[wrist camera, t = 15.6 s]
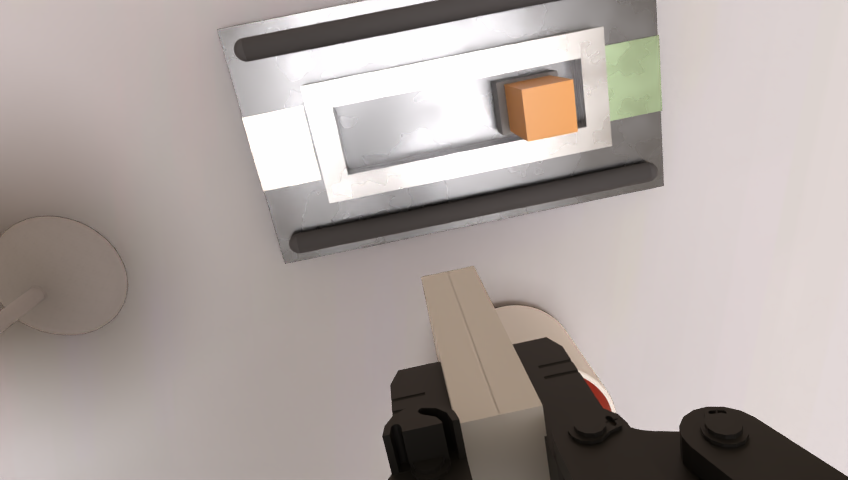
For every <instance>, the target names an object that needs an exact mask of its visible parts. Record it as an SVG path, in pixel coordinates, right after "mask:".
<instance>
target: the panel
mask: <svg viewBox="0 0 848 480" xmlns="http://www.w3.org/2000/svg"><path fill="white" fill-rule="evenodd" d="M430 1H435V0H366V1H361V2H356V3H350V4H345V5H340V6H335V7H330V8H325V9H320V10H314V11H309V12H304V13H299V14H294V15H289V16H284V17H278V18H273V19H268V20H263V21H258V22H253V23H248V24H243V25H237V26H232V27H227V28H222V29H217V31H218V34H219V38H220V41H221V45H222V48H223V52H224V55H225V59H226V62H227V65H228V69H229V72H230V76H231V79H232V83H233V86H234V90H235V93H236V96H237V100H238V103H239V107H240V110H241V114H242V117H243V118H242V120H243V123H244V127H245V130H246V134H247V137H248V140H249V144H250V147H251V151H252V154H253V158H254V161H255V165H256V168H257V171H258V175H259V178H260V182H261V185H262V189H263V191H264V193H265V196H266V200H267V203H268V207H269V210H270V214H271V217H272V221H273V224H274V227H275V231H276V234H277V238H278V241H279V245H280V248H281V252H282V255H283V259H284V262H285V264H286V263H291V262H296V261H301V260H306V259H310V258H315V257H320V256H325V255H330V254H335V253H340V252H344V251H349V250H354V249H359V248H364V247H369V246H374V245H379V244H383V243H388V242H393V241H398V240H403V239H408V238H413V237H417V236H422V235H427V234H432V233H437V232H442V231H447V230H451V229H456V228H461V227H466V226H471V225H476V224H481V223H486V222H490V221H495V220H500V219H505V218H510V217H515V216H520V215H524V214H529V213H534V212H539V211H544V210H549V209H554V208H558V207H563V206H568V205H573V204H578V203H583V202H588V201H592V200H597V199H602V198H607V197H612V196H617V195H622V194H627V193H631V192H636V191H641V190H646V189H651V188H656V187H661V186H664V180H663V156H662V132H661V111H662V98H661V74H660V49H659V35H657V11H656V0H560V1H555V2H550V3H544V4H539V5H534V6H529V7H524V8H519V9H514V10H509V11H504V12H499V13H494V14H488V15H483V16H478V17H473V18H468V19H463V20H458V21H453V22H448V23H443V24H438V25H432V26H427V27H422V28H417V29H412V30H407V31H402V32H397V33H392V34H387V35H381V36H376V37H371V38H366V39H361V40H356V41H351V42H346V43H341V44H336V45H331V46H325V47H320V48H315V49H310V50H305V51H300V52H295V53H290V54H285V55H280V56H275V57H269V58H264V59H259V60H254V61H249V62H244V61H241V60H239V59H238V58H237V57H236V55H235V53H234V44H235V43H236V41H237V40H239V39H241V38H245V37H251V36H256V35H261V34H266V33H271V32H276V31H281V30H286V29H292V28H297V27H302V26H307V25H312V24H317V23H322V22H327V21H333V20H338V19H343V18H348V17H353V16H358V15H363V14H368V13H374V12H379V11H384V10H389V9H394V8H399V7H404V6H409V5H415V4H420V3H425V2H430ZM544 70H556V71H557V73H558V77H562V78H568V79H573V83H574V94H575V105H576V116H577V127H578V132H574V133H570V134H565V135H560V136H555V137H550V138H545V139H540V140H535V141H530V142H527V141H526V140H524V139H522V138H521V137H519V136H518V135H516V134H514V133H513V134H508V135H502V134H500V133H499V132H498V130H497V123H496V116H495V109H494V102H493V94H492V87H491V81H494V80H499V79H504V78H509V77H514V76H519V75H524V74H529V73H534V72H539V71H544ZM645 162H650V163H653V164H654V165H655V166H656V167H657V169H658V174H657V177H656V178H655V179H654V180H652V181H650V182H646V183H641V184H636V185H631V186H626V187H621V188H617V189H612V190H607V191H602V192H597V193H592V194H587V195H582V196H578V197H573V198H568V199H563V200H558V201H553V202H548V203H544V204H539V205H534V206H529V207H524V208H519V209H514V210H509V211H505V212H500V213H495V214H490V215H485V216H480V217H475V218H470V219H466V220H461V221H456V222H451V223H446V224H441V225H436V226H431V227H427V228H422V229H417V230H412V231H407V232H402V233H397V234H393V235H388V236H383V237H378V238H373V239H368V240H363V241H358V242H354V243H349V244H344V245H339V246H334V247H329V248H324V249H319V250H315V251H310V252H305V253H295V252H293V251H292V250H291V249H290V247H289V240H290V238H291V237H292V236H293V235H294V234H297V233H302V232H307V231H312V230H317V229H322V228H327V227H332V226H337V225H341V224H346V223H351V222H356V221H361V220H366V219H371V218H376V217H381V216H386V215H390V214H395V213H400V212H405V211H410V210H415V209H420V208H425V207H430V206H434V205H439V204H444V203H449V202H454V201H459V200H464V199H469V198H474V197H478V196H483V195H488V194H493V193H498V192H503V191H508V190H513V189H518V188H522V187H527V186H532V185H537V184H542V183H547V182H552V181H557V180H562V179H567V178H571V177H576V176H581V175H586V174H591V173H596V172H601V171H606V170H611V169H615V168H620V167H625V166H630V165H635V164H640V163H645Z"/></svg>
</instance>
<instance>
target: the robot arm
mask: <svg viewBox="0 0 848 480" xmlns="http://www.w3.org/2000/svg"><path fill="white" fill-rule="evenodd" d="M421 279H422V284H423V289H424V294H425V299H426V304H427V309H428V314H429V319H430V324H431V328H432V333H433V338H434V343H435V348H436V353H437V358H438V362H436V363H431V364H426V365H422V366H417V367H412V368H408V369H403V370H398V372H397V374H396V376H395V377H394V379H393V381H392V383H391V385H390V386H391V400H392V412H393V417H392V418H391V419H390V420H389V421H388V423H387V424H386V425H385V427H384V432H383V436H382V437H383V441H384V444H385V448H386V452H387V456H388V460H389V464H390V468H391V472H392V475H391V476H390V478H389V479H388V480H848V477H847V476H846V475H844V474H843V473H841V472H840V471H838V470H836V469H835V468H833V467H832V466H830V465H829V464H827V463H825V462H824V461H822V460H821V459H819V458H818V457H816V456H815V455H813V454H811V453H810V452H808V451H807V450H805V449H804V448H802V447H800V446H799V445H797V444H796V443H794V442H793V441H791V440H789V439H788V438H786V437H785V436H783V435H782V434H780V433H779V432H777V431H775V430H774V429H772V428H771V427H769V426H768V425H766V424H764V423H763V422H761V421H760V420H758V419H757V418H755V417H753V416H751V415H749V414H746V413H744V412H742V411H740V410H735V409H731V408H726V407H704V408H700V409H696V410H693V411H691V412H690V413H689V414H687V415H686V416H684V417H683V419H682V421H681V424H680V426H679V429H680V432H669V431H645V430H639V429H634V428H630V426H629V425H628V423H627V422H626V421H625V420H624V419H623V418H622V417H620V416H619V415H618V414H616V413H614V412H611V411H609V410H607V409H603V407H602V406H601V404H600V403H599V401H598V400H597V398H596V397H595V395H594V393H593V392H592V390H591V389H590V387H589V386H588V384H587V383H586V381H585V380H584V378H583V377H582V375H581V374H580V372H578V369H577V368H576V366H575V365H574V363H573V362H571V359H570V357H569V356H568V354H567V353H566V351H565V349H564V348H563V346H561V345H559V344H558V343H556V342H554V341H552V340H551V339H549V338H547V337H544V338H540V339H535V340H530V341H526V342H521V343H516V344H512V343H511V341H510V339H509V336H508V334H507V332H506V330H505V328H504V326H503V324H502V322H501V320H500V318H499V316H498V314H497V312H496V310H495V308H494V306H493V304H492V302H491V300H490V298H489V296H488V294H487V292H486V290H485V288H484V286H483V284H482V282H481V280H480V278H479V276H478V274H477V272H476V270H475V268H474V266H471V267H466V268H461V269H457V270H452V271H447V272H442V273H438V274H433V275H428V276H423V277H421Z"/></svg>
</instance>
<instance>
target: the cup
mask: <svg viewBox="0 0 848 480" xmlns="http://www.w3.org/2000/svg"><path fill="white" fill-rule="evenodd" d="M495 310H496V312H497V314H498V316H499V318H500V320H501V322H502V324H503V326H504V328H505V330H506V332H507V334H508V336H509V339H510V341H511V343H512V344H516V343H521V342H526V341H530V340H535V339H540V338H544V337H547V338H549V339H551V340H552V341H554V342H556V343H558V344H559V345H561V346H563V348H564V349H565V351H566V353H567V354H568V356H569V357H570V359H571V362H573V363H574V365H575V366H576V368H577V369H578V372H580V374H581V375H582V377H583V378H584V380H585V381H586V383H587V384H588V386H589V387H590V389H591V390H592V392H593V393H594V395H595V397H596V398H597V400H598V401H599V403H600V404H601V406H602V407H603V409H607V410H609V411H611V412H614V413H616V411H615V407H614V403H613V401H612V399H611V397H610V395H609V393H608V392H607V390H606V389H605V387H604V386H603V384H602V383H601V381H600V380H599V379H598V377H597V376H596V374H595V373H594V371H593V370H592V368H591V367H590V365H589V364H588V362H587V361H586V359H585V358H584V357H583V355H582V354H581V352H580V351H579V349H578V348H577V346H576V345H575V343H574V342H573V341H572V339H571V338H570V336H569V335H568V333H567V332H566V330H565V329H564V328H563V326H562V325H561V324H560V323H559V322H558V321H557V320H556V319H555V318H553V317H552V316H551V315H549V314H547V313H546V312H543V311H541V310H539V309H536V308H533V307H528V306H521V305H511V306H503V307H498V308H495Z"/></svg>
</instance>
